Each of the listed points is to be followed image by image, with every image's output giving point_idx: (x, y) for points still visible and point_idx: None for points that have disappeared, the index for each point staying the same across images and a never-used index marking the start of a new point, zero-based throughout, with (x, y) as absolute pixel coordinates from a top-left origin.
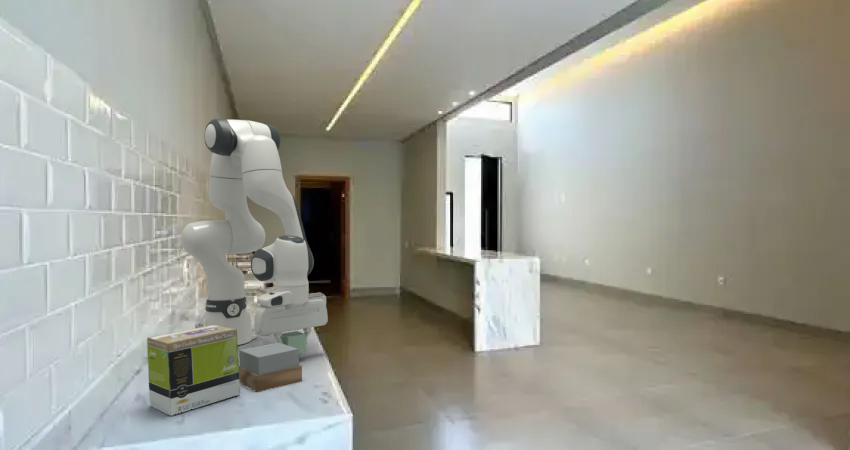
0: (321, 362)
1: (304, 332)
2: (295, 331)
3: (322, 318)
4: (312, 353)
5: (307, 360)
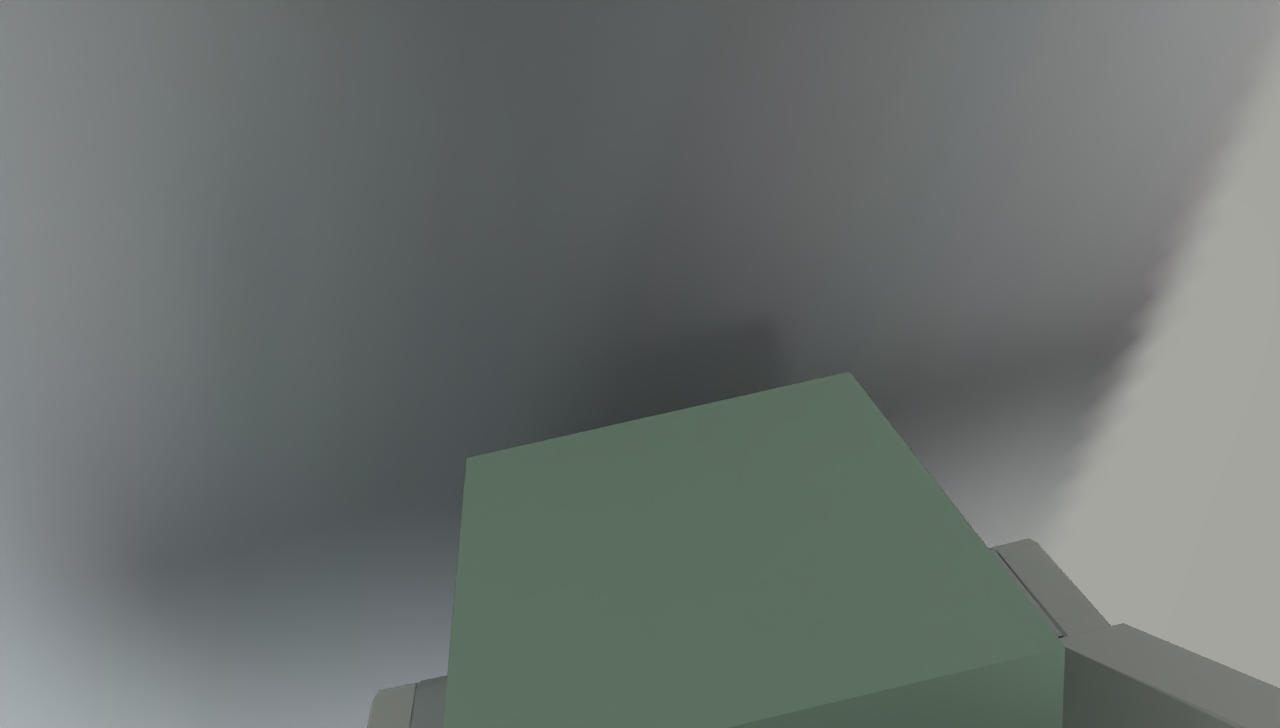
0: None
1: (1193, 720)
2: (998, 693)
3: None
4: (1124, 184)
5: None
